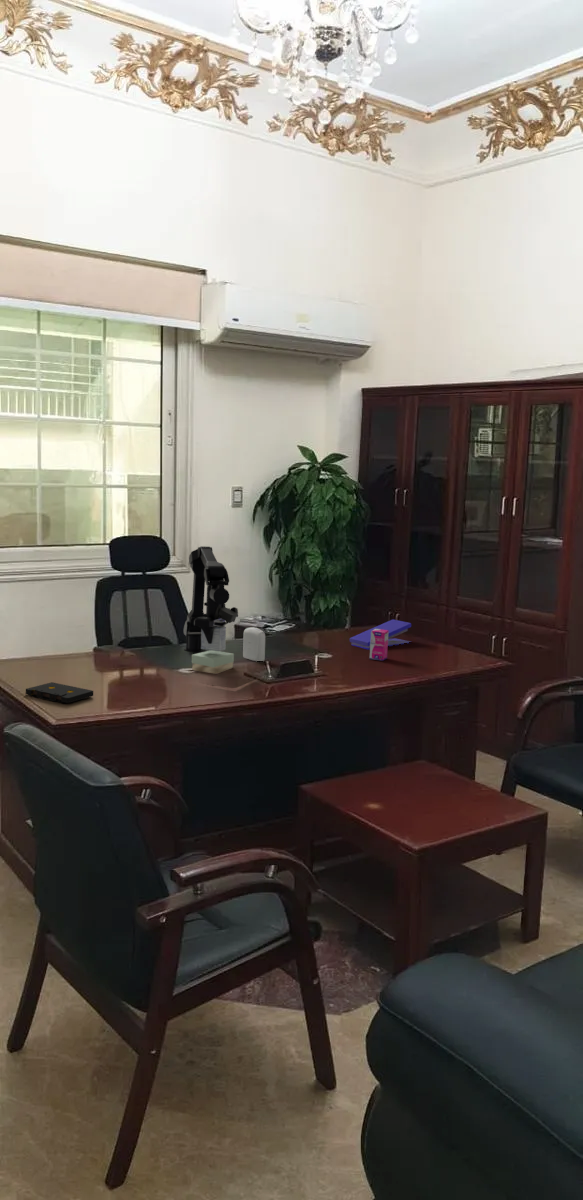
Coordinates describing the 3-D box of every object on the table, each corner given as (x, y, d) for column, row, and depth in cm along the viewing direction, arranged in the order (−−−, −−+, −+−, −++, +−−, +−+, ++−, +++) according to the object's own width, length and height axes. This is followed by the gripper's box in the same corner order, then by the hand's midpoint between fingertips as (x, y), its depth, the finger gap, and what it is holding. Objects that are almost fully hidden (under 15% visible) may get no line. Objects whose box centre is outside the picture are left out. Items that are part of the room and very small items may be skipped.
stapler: (412, 645, 395) (414, 622, 394) (368, 651, 377) (369, 628, 375) (392, 640, 404) (394, 618, 402) (348, 647, 385) (349, 624, 384)
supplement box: (369, 659, 360) (370, 630, 358) (373, 656, 365) (374, 628, 364) (383, 661, 358) (384, 632, 356) (387, 658, 363) (389, 629, 362)
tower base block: (192, 671, 329) (192, 663, 328) (209, 665, 340) (209, 657, 339) (216, 675, 325) (216, 667, 324) (232, 669, 336) (233, 661, 335)
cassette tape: (25, 694, 288) (25, 688, 287) (51, 687, 298) (51, 681, 297) (67, 704, 279) (67, 697, 279) (93, 696, 289) (93, 689, 288)
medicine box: (225, 649, 332) (226, 626, 330) (219, 651, 328) (220, 627, 326) (206, 647, 335) (207, 624, 334) (200, 649, 331) (201, 625, 330)
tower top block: (191, 662, 329) (191, 654, 329) (211, 657, 339) (212, 649, 339) (213, 667, 324) (213, 658, 324) (233, 661, 334) (233, 653, 334)
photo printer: (241, 657, 353) (242, 626, 352) (250, 656, 356) (251, 625, 354) (257, 662, 346) (258, 630, 344) (266, 661, 348) (267, 629, 347)
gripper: (221, 605, 317) (220, 649, 319) (246, 599, 334) (245, 641, 336) (193, 602, 321) (192, 645, 324) (219, 596, 338) (218, 637, 340)
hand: (213, 642), depth 331 cm, fingers closed on medicine box, 4 cm apart
